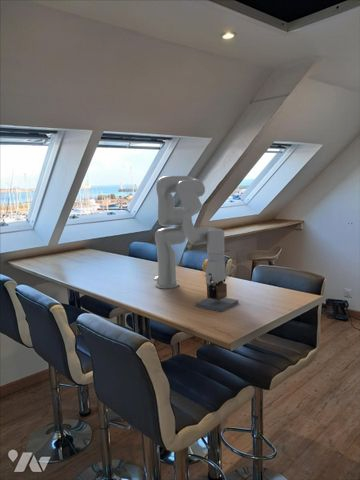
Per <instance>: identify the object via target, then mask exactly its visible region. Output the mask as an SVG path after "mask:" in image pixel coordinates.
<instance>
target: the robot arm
mask: <svg viewBox="0 0 360 480" xmlns="http://www.w3.org/2000/svg"><path fill="white" fill-rule="evenodd" d="M205 187H206V186H205V185H204V183H203V181H202V180H200V179H198V178H195V177H192V176H189V175H166V176H165V175H164V176H162V177H160V178H158V180H157V181H156V187H155V189H156V194H157V201H158V202H157V220H158V224H159V225H160V226H163V227H164V228H163V227H162V228H159V229H158V230H156V231H155V233H154V240H155V244H156V245H155V246H156V255H157V273H158V276H155V277H154V278H153V280H154V281H156V283H155V287H156V288H159V289H165V290H166V289H168V290H169V289H174V288H177V287H179V285H180V283H179V282H178V281H177V274H176V252H175V251H174V249H173V247H172V246H175V245H182V244H183V243H185V242H186V240H187V241H188V242H189V244H191V245H192V246H198V245H203V244H206V247H207V258H208V261H207V265H206V273H205V284H206V287H207V286H208V289H209V297H210V298H216V289H215V286H216V283H223V284H224V283H226V279H227V274H226V273H227V272H226V261H225V259H226V257H225V231H224V230H223V228H215V227H213V226H201V227H195V225H194V223H193V219H192V218H193V216H195V215H197V214H198V213H199V212H201V210H202V209H203V204H202V202H201V200H200V198H201V197H202V196H203V195H204V194H205V191H206V188H205ZM175 193H176V194H177V195H178V198H179V201H180V203H181V205H182V207H180V206H177V207H175V197H174V196H173V194H175ZM168 226H169V227H168ZM170 226H172V227H170ZM173 226H174V227H173ZM211 284H213V286H212V285H211Z"/></svg>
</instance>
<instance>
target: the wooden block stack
mask: <svg viewBox="0 0 360 480" xmlns="http://www.w3.org/2000/svg"><path fill="white" fill-rule="evenodd" d="M211 285H212V286H213V284H211ZM227 286H228V284H227V283H226V282H224V284H223V283H216V286H215V289H216V298H211V299H217V300H221V299H223V298H228V294H227V293H228V291H227V290H228V288H227ZM206 298H210V297H209V289H208V286H207V285H206Z"/></svg>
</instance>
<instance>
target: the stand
mask: <svg viewBox="0 0 360 480" xmlns="http://www.w3.org/2000/svg"><path fill="white" fill-rule="evenodd" d="M194 303H195V304H194V305H195V307H197V308H200V309H207V310H211V311H216V312H220V313H224V312H225V311H227V310H229V309H231V308H232V307H234V306H236V305H238V304H239V299H235V298H229V297H225V298H223V299H221V300H217V299H211V298H207V297H206V298H204V299H202V300H199V301H198V302H194Z"/></svg>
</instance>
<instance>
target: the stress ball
mask: <svg viewBox="0 0 360 480" xmlns="http://www.w3.org/2000/svg"><path fill="white" fill-rule="evenodd" d="M207 261H208V257H207V258H205V259H204V260H203V261H202V265H201V269H202V271H203V272H204V273H205V274H206V265H207Z"/></svg>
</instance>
